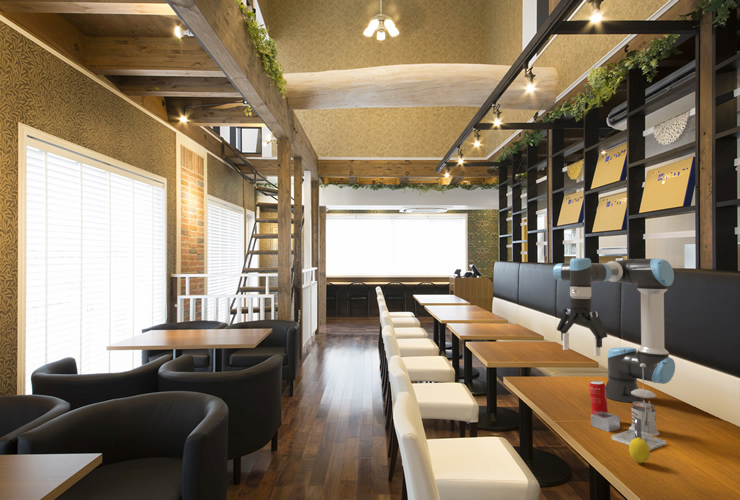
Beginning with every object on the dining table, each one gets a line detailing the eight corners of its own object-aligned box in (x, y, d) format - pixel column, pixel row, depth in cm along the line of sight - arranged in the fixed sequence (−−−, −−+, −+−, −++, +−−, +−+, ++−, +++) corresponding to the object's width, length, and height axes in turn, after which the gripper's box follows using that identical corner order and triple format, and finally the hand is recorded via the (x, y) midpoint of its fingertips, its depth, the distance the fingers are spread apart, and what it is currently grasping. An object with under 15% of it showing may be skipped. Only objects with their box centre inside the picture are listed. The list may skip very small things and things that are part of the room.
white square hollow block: (602, 422, 173) (602, 411, 173) (619, 428, 166) (619, 416, 167) (591, 425, 169) (590, 414, 169) (608, 431, 163) (608, 419, 163)
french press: (655, 427, 168) (654, 361, 168) (664, 439, 157) (663, 368, 157) (626, 424, 171) (625, 359, 172) (633, 435, 160) (632, 366, 161)
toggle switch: (630, 432, 162) (630, 411, 163) (665, 444, 152) (665, 422, 152) (611, 438, 156) (611, 417, 157) (646, 451, 146) (646, 428, 146)
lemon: (625, 459, 140) (624, 434, 140) (641, 459, 140) (641, 433, 141) (637, 467, 134) (636, 441, 135) (654, 467, 135) (653, 440, 135)
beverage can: (610, 423, 172) (609, 384, 172) (592, 422, 173) (591, 383, 174) (605, 417, 178) (604, 380, 178) (588, 416, 179) (587, 379, 180)
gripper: (547, 295, 181) (547, 347, 180) (604, 300, 158) (605, 359, 158) (559, 295, 184) (560, 346, 183) (617, 299, 162) (618, 357, 161)
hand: (580, 352), depth 171 cm, fingers open, 13 cm apart
